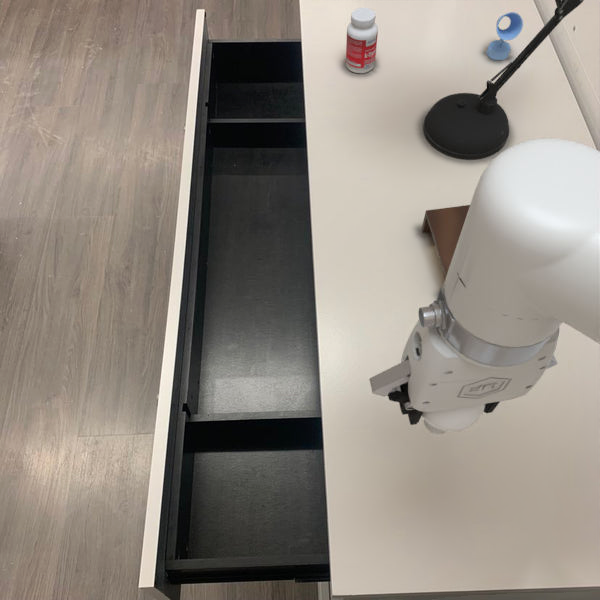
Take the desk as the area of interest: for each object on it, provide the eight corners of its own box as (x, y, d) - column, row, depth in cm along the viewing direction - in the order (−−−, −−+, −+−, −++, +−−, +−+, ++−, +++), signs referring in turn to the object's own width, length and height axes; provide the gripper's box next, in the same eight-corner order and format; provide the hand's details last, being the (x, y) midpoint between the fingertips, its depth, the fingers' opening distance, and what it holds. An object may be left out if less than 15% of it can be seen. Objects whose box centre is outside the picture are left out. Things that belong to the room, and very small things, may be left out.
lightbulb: (429, 383, 58) (448, 337, 49) (478, 422, 56) (508, 382, 46) (392, 424, 56) (405, 385, 47) (442, 467, 53) (465, 433, 44)
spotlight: (511, 65, 110) (508, 45, 113) (526, 18, 101) (523, -2, 105) (486, 64, 110) (484, 44, 114) (500, 18, 102) (497, -3, 105)
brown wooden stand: (479, 221, 89) (487, 202, 85) (507, 291, 82) (516, 274, 77) (421, 229, 89) (425, 210, 84) (443, 299, 81) (449, 282, 77)
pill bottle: (366, 77, 110) (369, 26, 100) (340, 69, 112) (341, 18, 102) (380, 61, 112) (384, 10, 103) (354, 53, 114) (356, 1, 105)
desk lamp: (375, 158, 98) (406, -142, 59) (420, 75, 109) (470, -221, 71) (508, 196, 91) (639, -111, 53) (541, 104, 103) (667, -203, 65)
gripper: (381, 380, 33) (365, 457, 49) (647, 339, 34) (549, 427, 49) (357, 282, 37) (349, 381, 52) (596, 247, 38) (520, 355, 53)
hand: (446, 403), depth 51 cm, fingers closed on lightbulb, 6 cm apart
